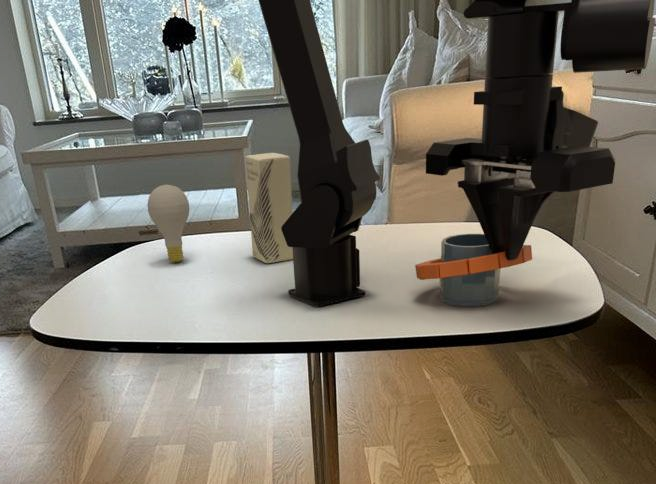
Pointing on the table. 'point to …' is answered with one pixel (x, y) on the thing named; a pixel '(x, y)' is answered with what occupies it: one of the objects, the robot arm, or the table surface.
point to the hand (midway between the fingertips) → (505, 257)
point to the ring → (470, 265)
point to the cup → (469, 286)
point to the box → (269, 205)
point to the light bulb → (169, 217)
